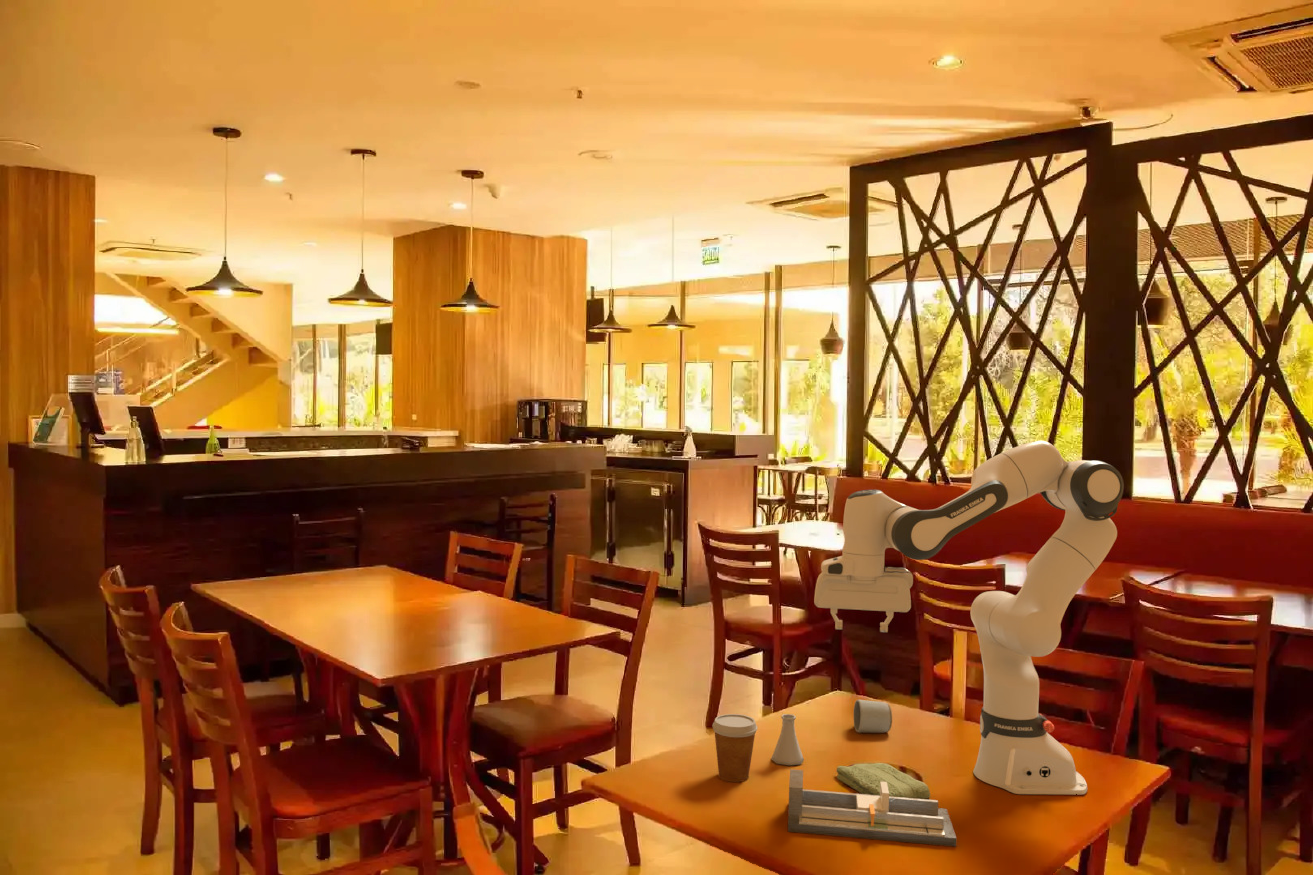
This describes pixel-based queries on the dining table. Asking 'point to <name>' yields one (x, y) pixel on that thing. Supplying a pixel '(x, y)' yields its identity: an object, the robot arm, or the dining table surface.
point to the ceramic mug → (872, 716)
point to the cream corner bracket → (874, 802)
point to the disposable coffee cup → (734, 745)
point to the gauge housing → (866, 816)
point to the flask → (787, 744)
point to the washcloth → (882, 780)
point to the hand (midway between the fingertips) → (861, 630)
